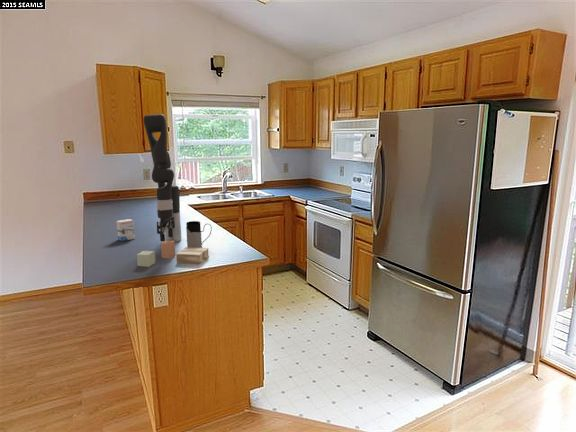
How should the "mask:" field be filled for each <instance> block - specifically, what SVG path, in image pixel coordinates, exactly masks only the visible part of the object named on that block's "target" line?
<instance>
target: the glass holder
mask: <svg viewBox="0 0 576 432" xmlns="http://www.w3.org/2000/svg"><path fill="white" fill-rule="evenodd" d="M185 225H186V227H185V229H186V247H195V248H203V244H204V242H205V241H207V240H208V238H209V237H210V236H211V234H212V225H211V224H210V223H204V225H203V228H202V227H201V221H197V220H191V221H187V222H186V223H185ZM207 225H209V226H210V233H209V235H207V237H206V238H205V239H204V240H203V241H202V233H203V232H204V231H205V226H207ZM201 229H203V230H201Z"/></svg>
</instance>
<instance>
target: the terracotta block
mask: <svg viewBox="0 0 576 432" xmlns="http://www.w3.org/2000/svg"><path fill="white" fill-rule="evenodd" d="M160 247H161V248H160V249H161V251H160V252H161V259H173V258H174V257H176V243H175V241H167V240H165V241H161V243H160Z"/></svg>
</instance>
